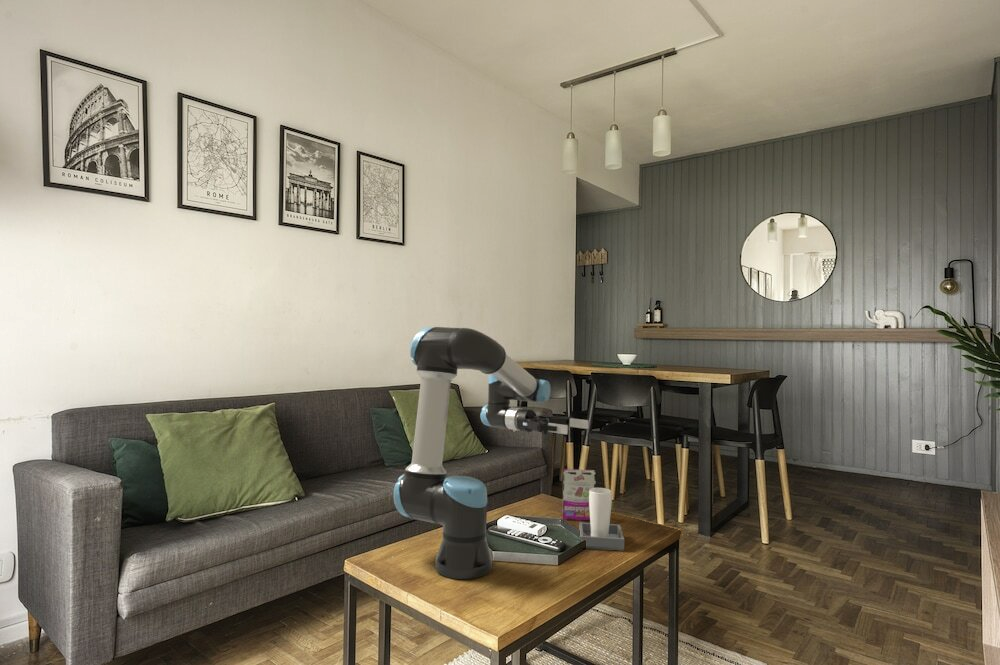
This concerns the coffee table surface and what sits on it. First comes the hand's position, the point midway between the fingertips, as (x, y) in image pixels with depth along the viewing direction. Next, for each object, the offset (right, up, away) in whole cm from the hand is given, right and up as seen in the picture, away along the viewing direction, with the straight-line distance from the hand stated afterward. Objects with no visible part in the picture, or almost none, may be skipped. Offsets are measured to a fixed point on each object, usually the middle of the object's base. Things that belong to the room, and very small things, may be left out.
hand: (577, 427), depth 176 cm
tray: (+6, -34, -5) cm, 35 cm away
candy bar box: (+2, -34, +16) cm, 38 cm away
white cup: (+6, -34, -6) cm, 34 cm away
